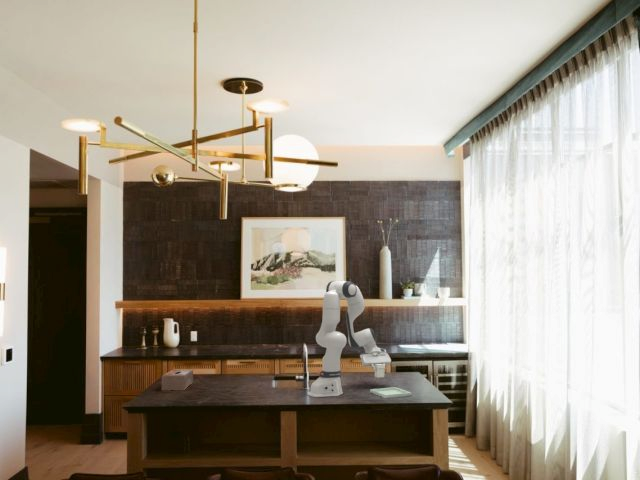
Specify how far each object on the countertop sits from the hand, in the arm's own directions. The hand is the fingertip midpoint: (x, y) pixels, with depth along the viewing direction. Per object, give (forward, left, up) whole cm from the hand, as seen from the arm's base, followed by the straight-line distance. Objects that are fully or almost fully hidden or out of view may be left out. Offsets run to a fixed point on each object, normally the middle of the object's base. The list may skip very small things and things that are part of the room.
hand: (379, 370), depth 386 cm
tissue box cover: (-119, +63, -13) cm, 135 cm away
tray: (-3, -18, -12) cm, 22 cm away
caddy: (0, +1, -4) cm, 4 cm away
